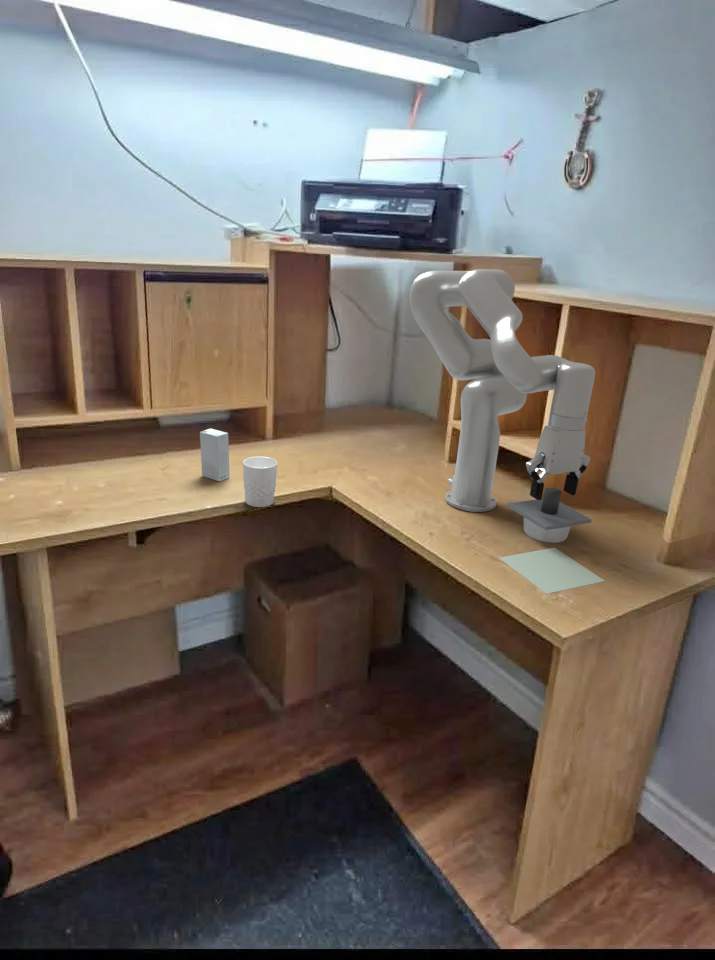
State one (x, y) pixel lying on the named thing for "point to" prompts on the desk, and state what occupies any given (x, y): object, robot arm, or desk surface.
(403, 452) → the desk surface
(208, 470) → the skincare box
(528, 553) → the mat
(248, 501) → the white cup
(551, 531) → the ramekin
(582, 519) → the lid
